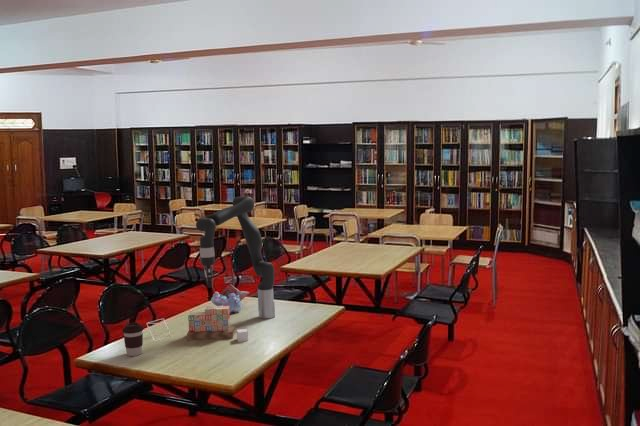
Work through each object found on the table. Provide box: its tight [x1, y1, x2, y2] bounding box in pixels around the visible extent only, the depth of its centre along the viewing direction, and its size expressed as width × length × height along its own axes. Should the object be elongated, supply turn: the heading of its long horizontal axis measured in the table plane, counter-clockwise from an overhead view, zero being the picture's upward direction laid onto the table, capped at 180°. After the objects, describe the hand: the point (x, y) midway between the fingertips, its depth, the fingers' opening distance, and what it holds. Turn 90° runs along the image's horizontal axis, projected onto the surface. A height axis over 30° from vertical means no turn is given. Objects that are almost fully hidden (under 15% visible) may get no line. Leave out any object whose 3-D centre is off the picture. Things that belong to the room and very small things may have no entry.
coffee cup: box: [121, 322, 144, 357], centre depth 284 cm, size 10×10×15 cm
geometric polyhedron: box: [146, 318, 172, 342], centre depth 309 cm, size 12×11×9 cm
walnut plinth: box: [186, 326, 236, 341], centre depth 309 cm, size 24×10×4 cm, turn 92°
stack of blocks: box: [187, 305, 231, 332], centre depth 309 cm, size 21×6×12 cm, turn 90°
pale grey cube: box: [236, 328, 249, 343], centre depth 302 cm, size 5×5×5 cm
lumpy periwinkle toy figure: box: [210, 283, 251, 314], centre depth 360 cm, size 20×22×18 cm
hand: (208, 285), depth 306 cm, fingers open, 8 cm apart
